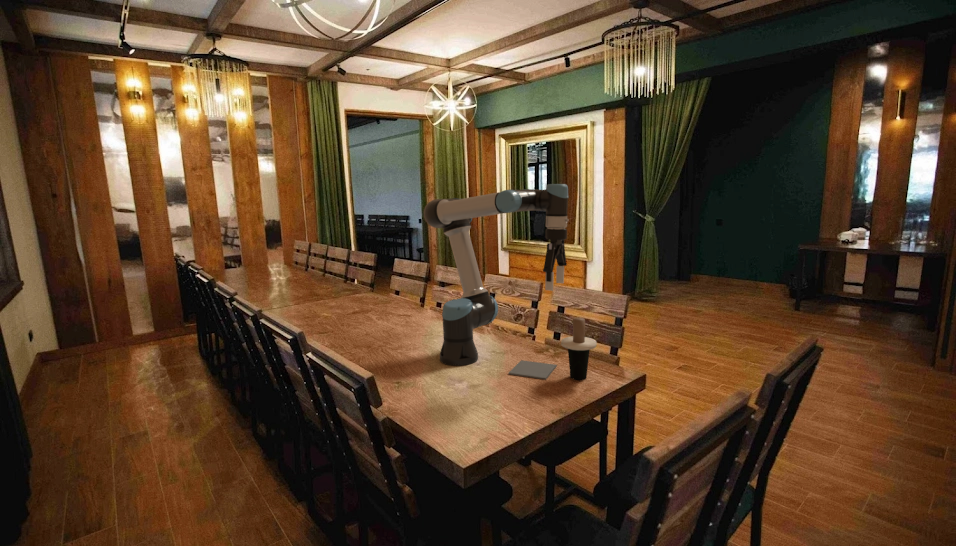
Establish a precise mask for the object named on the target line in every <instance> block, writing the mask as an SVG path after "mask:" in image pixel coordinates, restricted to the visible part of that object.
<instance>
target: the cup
mask: <svg viewBox="0 0 956 546" xmlns="http://www.w3.org/2000/svg"><path fill="white" fill-rule="evenodd" d="M590 350H591V349H590ZM590 350H571V349H567V352H568V353H567V354H568V363H569V364H568V366H569V375H570V376H569V378H570V379H571V380H573V381H577V382H578V381H579V382H580V381H585V380H587V377H588V376H587V375H588V368H589V359H590Z"/></svg>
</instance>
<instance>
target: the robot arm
mask: <svg viewBox="0 0 956 546" xmlns="http://www.w3.org/2000/svg"><path fill="white" fill-rule="evenodd" d="M569 197H570V196H569V187H568V185H567V184H566V183H548V184H547V185H546V189H533V188H532V189H530V188H526V189H505V190H502V191H500V192H494V193H493V192H492V193H487V194H482V195H476V196H470V197H465V198H457V197H452V198H436V199H432V200H430V201H428V203H427V204H426V205H425V207H424V209H423V218H424V221H425V222H426V224H428V226H430V227H432V228H436V229H442V232H443V235H445V236H446V237H448V238H449V239H448V240H449V243H450V247H451V251H452V253H453V257H454V261H455V267H456V269H457V273H458V278H459V280H460V284H461V288H462V292H463V293H462V295H461V296H460V298H456V299H455V298H454V299H450V300H448V301H446V302H444V304H443V305H442V314H441V317H442V332H443V333H442V334H443V342H442V346H441V349H440V351H439V352H440V353H439V362H441V364H444V365H448V366H456V367H457V366H467V365H471V364H474V363H476V362H477V361H478V360H479V352H478V350H477V347H476V344H475V342H474V330H475V329H478V328H480V327H482V326H487V325H488V324H490V323H492V322H493V321H495V319H496V318H497V316H498V314H499V305H498V302H497V300H496V299H495V298H494V297H493V296H492V295H490V293H489V289H486V288H485V287H484V285H483V281H482V277H481V273H480V272H481V271H479V270H480V269H479V265H478V262H477V259H476V253H475V251H474V246H473V243H472V239H471V235H470V229H471V228H472V225H471V222H472V221H473V218H480V217H489V216H495V215H501V214H502V215H503V214H509V213H517V212H518V213H519V212H529V211H544V212H545V227H546V229H545V239H546V240H549V241H550V243H549V242H548V243H547V244H546V253H545V259H544V263H543V264H544V265H543V268H542V271H543V273H545V279H544V280H545V282H544V283H545V285H544V288H545V291H549V292H551V291H552V292H553V291H554V276H555V279H556V280H555V283H556V284H564V283H565V267H566V266H567V265H568V264H567V258H566V250H565V249H566V247H565V240H567V238H568V229H567V227H568V222H569V221H570V219H569V218H568V211H569V210H568V208H569V207H568V206H569ZM556 263H557V265H556V275H554V274H555V273H554V268H555V267H554V266H555V264H556Z"/></svg>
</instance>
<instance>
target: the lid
mask: <svg viewBox="0 0 956 546" xmlns="http://www.w3.org/2000/svg"><path fill="white" fill-rule="evenodd" d="M585 332H586V320H585V318H583V317H574V318H573V319H572V336H567V337H563V338H562V339H561V343H560V346H562V347H563V348H565V349H567V350H568V349H571V350H594V349H596V347H597V344H598V343H597V340H595V339H594V338H591V337H587V336H586V333H585Z"/></svg>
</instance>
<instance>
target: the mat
mask: <svg viewBox="0 0 956 546" xmlns="http://www.w3.org/2000/svg"><path fill="white" fill-rule="evenodd" d="M556 367H558V365H557V364H554V363H545V362H538V361H531V360H524V359H523V360H522V359H521V360H520V361H519V362H518V363H517V364H516V365H515V366H514V367H513V368H511V369H510V371H509V372H508V373H507V374H508V375H511V376H519V377H525V378H531V379H538V380H539V379H540V380H548V378H549V377H550V375H551V374H552V373H553V372H554V370H555V369H556Z"/></svg>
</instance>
